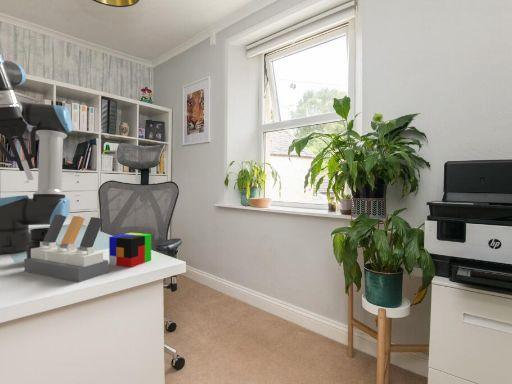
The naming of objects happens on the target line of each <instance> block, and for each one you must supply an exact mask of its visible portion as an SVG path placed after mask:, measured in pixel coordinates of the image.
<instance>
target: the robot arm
mask: <svg viewBox="0 0 512 384" xmlns="http://www.w3.org/2000/svg"><path fill="white" fill-rule="evenodd" d="M26 79H27V74H26V72H25V70H24V68H23V67H22V66H21V65H20V64H18V63H16V62H13V61H11V60H9V61H8V60H4V59H3V57H2V55H1V53H0V135H1V136H3V137H5V138H7V141H8V144H9V147H10V149H11V151H12V154H13V156H12V155H11V154H10V152H9V150H7V147H5V145H4V144H3V142H2V141H1V140H0V151H1V153H2V154H3V156H4V157H5V159H6V160H7V161H9V162H15V163H16V164H17V167H18V170H19V171H20V172H23V171H24V173H25V176H26V179H27V181H33V180H34V177H33V174H32V172H31V170H33V169H34V167H35V166H34V164H33V162H32V159H33V158H36V157H37V146H36V145H37V143H36V142H37V141H36V135H37V136H38V137H39V146H38V147H39V148H38V169H37V170H38V174H37V190H36V191H35V192H34V193H33V194H32V197H31V198H30V197H29V196H28V194H26V195H25V194H24V195H16V196H6V197H0V255H4V254H16V253H21V252H27V251H26V247H27V245H28V244H29V243H30V242H31V240H30V239H31V238H30V230H29V228H30V227H29V226H44V225H49V226H50V225H51V222H52V220H53V218H54V216H55V215H63V216H65V217H66V219H65V221H64V223H65V222H66V220H67V219H68V217H69V214H70V209H71V202H70V201H71V200H70V199H69V198H68V197H66V193H65V192H64V191H63V190H62V186H63V183H62V182H63V181H62V179H63V150H64V149H63V148H64V147H63V145H64V140H65V139H66V138H67V137H68V133H71V132H72V130H73V122H72V118H71V115H70V112H69V110H68V108H67V107H65V106H63V105H56V104H44V103H33V102H25V101H24V102H23V101H19V100H18V99H17V97H16V93H15V91H14V88H13V87H16V86H21V85H23V84H24V83H25V82H26ZM26 130H28V132H29V141H30V152H29V151H28V148H27V145H26V142H25V140H24V137H23V135H24V134H25V132H26ZM13 137H17V138H18V139H17V140H18V143H19V144H20V148H21V150H22V153H23V156H24V158H25V159H21V157H20V155H19V151H18V149H17V146H16V144H15V141H14V138H13Z"/></svg>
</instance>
